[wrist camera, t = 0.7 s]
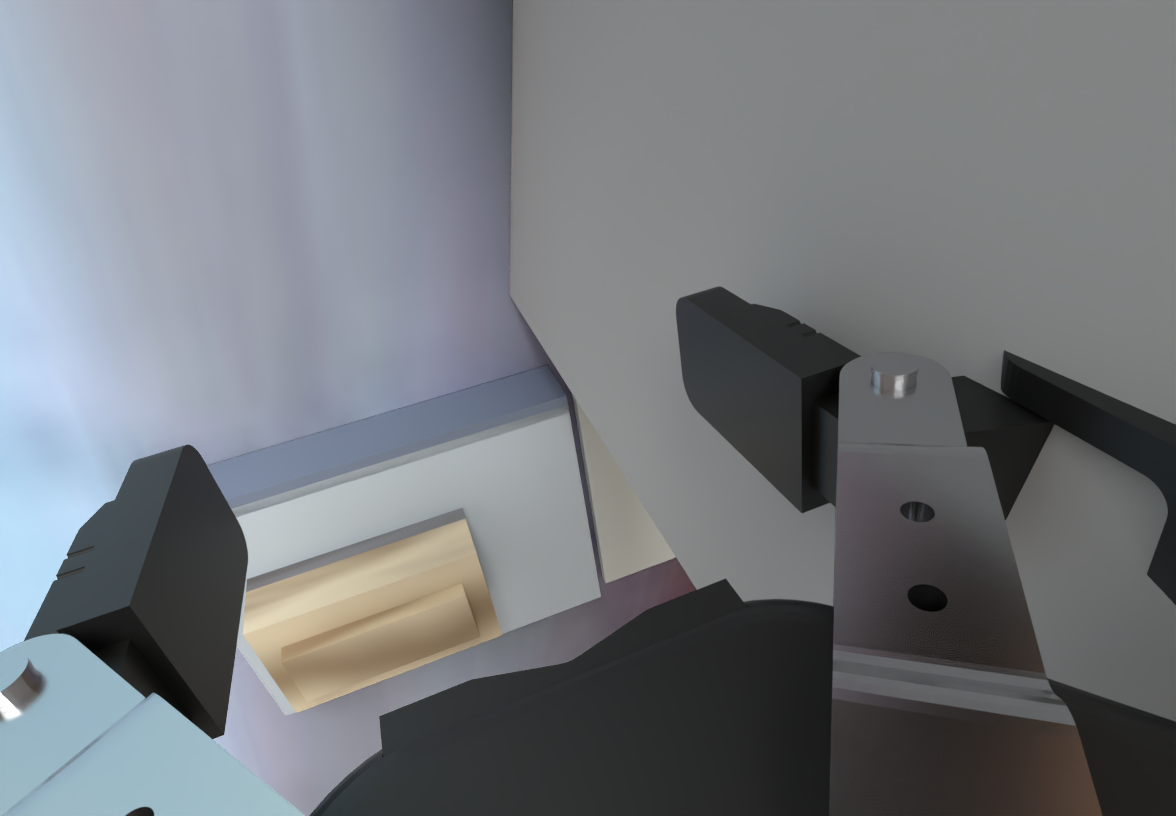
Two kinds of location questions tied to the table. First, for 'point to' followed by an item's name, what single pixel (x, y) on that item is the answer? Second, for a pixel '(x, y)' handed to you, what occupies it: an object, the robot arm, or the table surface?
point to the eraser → (370, 610)
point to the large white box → (431, 494)
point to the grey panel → (866, 257)
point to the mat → (617, 511)
